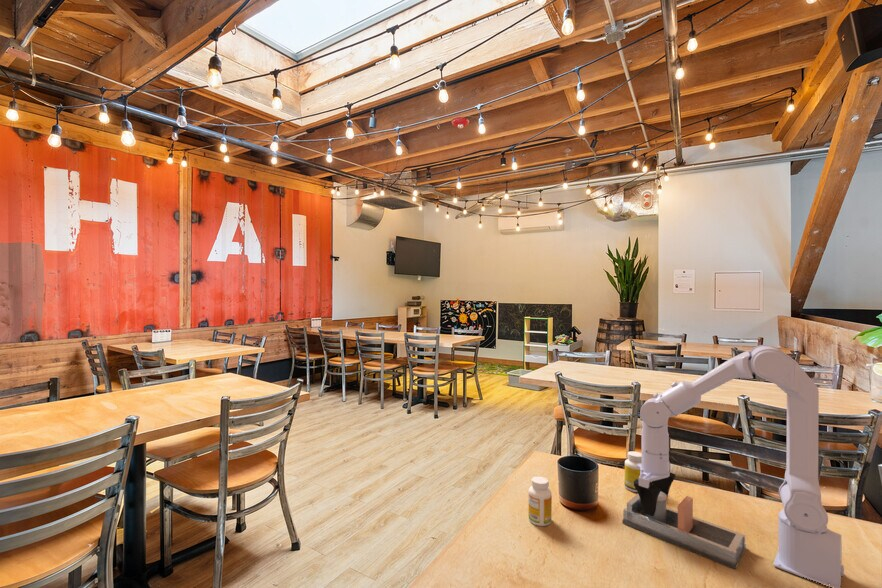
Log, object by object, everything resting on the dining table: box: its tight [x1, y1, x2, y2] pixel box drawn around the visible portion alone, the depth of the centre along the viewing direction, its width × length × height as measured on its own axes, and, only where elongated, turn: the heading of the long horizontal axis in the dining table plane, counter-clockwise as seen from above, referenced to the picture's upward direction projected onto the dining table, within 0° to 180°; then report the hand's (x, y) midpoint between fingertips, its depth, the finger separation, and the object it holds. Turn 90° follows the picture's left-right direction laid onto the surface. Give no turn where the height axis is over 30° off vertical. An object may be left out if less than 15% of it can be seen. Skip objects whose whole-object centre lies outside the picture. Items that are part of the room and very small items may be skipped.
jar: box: [644, 492, 668, 524], centre depth 95 cm, size 5×5×6 cm
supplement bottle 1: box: [528, 476, 553, 527], centre depth 96 cm, size 5×5×10 cm
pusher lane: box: [621, 493, 747, 570], centre depth 91 cm, size 22×10×5 cm, turn 43°
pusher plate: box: [677, 495, 694, 533], centre depth 90 cm, size 1×6×7 cm, turn 133°
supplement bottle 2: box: [623, 450, 642, 493], centre depth 113 cm, size 5×5×10 cm
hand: (654, 508), depth 95 cm, fingers open, 7 cm apart
